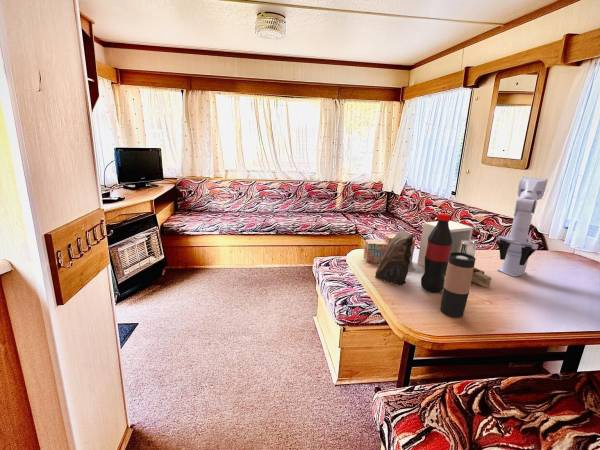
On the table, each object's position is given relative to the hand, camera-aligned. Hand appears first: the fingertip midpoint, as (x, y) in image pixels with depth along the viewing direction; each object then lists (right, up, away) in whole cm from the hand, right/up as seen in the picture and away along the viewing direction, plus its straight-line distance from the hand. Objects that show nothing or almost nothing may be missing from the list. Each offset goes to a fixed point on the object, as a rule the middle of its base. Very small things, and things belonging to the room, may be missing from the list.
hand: (511, 262), depth 128 cm
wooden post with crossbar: (-14, -7, +7) cm, 17 cm away
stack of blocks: (-44, -2, +22) cm, 49 cm away
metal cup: (-16, -7, +10) cm, 20 cm away
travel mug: (-34, -14, -21) cm, 43 cm away
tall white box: (-20, -4, +19) cm, 28 cm away
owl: (-48, -7, +4) cm, 48 cm away
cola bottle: (-34, -10, -5) cm, 36 cm away
